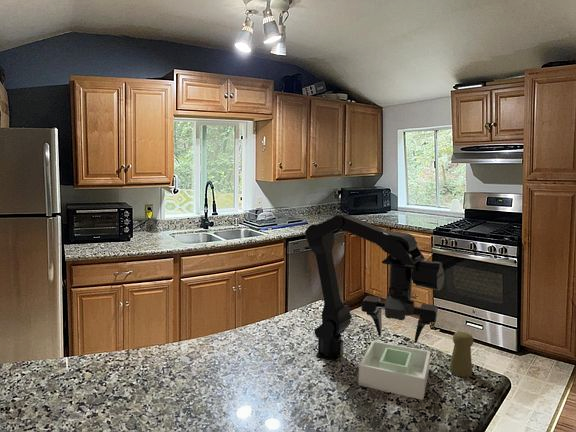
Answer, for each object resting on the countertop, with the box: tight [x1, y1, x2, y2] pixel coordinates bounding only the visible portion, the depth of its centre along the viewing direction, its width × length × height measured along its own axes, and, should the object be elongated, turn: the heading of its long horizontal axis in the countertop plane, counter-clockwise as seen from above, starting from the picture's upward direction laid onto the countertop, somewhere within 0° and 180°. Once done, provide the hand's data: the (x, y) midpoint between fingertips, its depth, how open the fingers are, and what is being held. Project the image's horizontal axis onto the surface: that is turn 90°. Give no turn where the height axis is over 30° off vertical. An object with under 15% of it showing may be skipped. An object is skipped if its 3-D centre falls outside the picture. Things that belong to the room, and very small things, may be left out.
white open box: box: [357, 340, 431, 401], centre depth 112 cm, size 16×16×6 cm
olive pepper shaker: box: [448, 331, 474, 378], centre depth 115 cm, size 6×6×11 cm
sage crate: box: [379, 348, 412, 374], centre depth 112 cm, size 7×9×5 cm
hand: (397, 339), depth 111 cm, fingers open, 9 cm apart
